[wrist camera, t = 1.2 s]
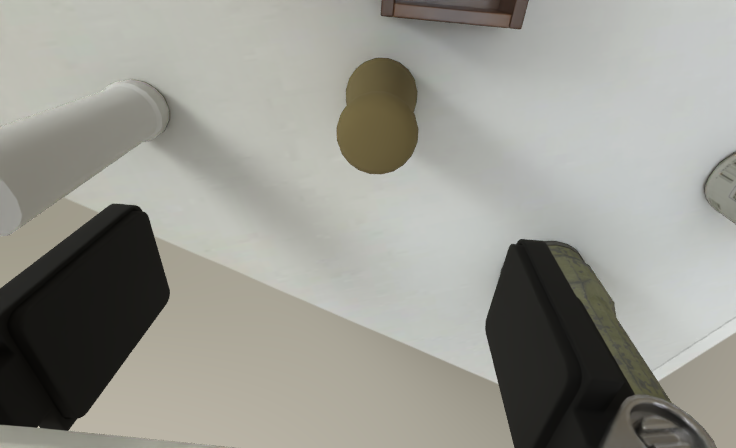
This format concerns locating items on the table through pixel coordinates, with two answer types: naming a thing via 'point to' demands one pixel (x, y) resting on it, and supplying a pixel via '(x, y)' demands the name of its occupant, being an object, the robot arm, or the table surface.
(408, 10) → the caddy
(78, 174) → the bottle
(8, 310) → the robot arm
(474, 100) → the table surface
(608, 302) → the thermos
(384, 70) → the cork
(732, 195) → the spray can
